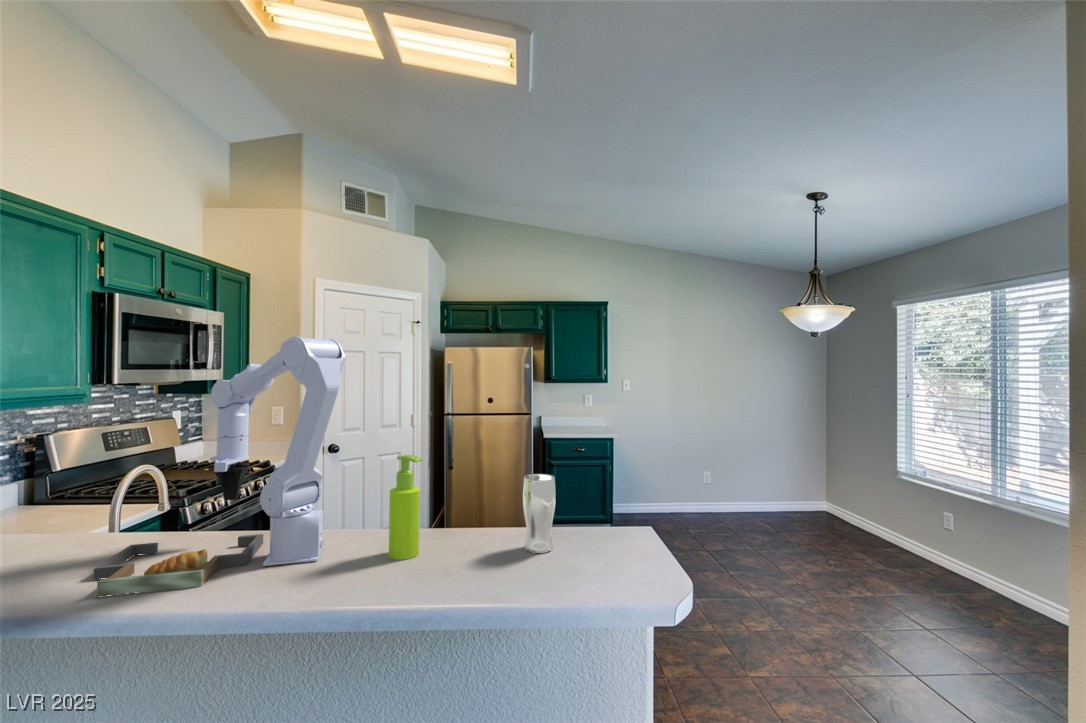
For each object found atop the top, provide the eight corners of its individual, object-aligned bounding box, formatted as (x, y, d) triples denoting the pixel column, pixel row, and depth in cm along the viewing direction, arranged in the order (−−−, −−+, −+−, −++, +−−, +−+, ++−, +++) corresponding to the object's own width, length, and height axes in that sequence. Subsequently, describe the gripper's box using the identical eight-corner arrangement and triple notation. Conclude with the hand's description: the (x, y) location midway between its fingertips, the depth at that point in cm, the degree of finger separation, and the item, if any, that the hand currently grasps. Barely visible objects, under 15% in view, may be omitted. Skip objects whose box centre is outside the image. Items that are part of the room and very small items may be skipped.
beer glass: (550, 556, 95) (550, 481, 95) (517, 552, 97) (518, 479, 97) (558, 544, 102) (559, 474, 102) (528, 541, 103) (528, 472, 104)
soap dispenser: (406, 563, 91) (407, 459, 91) (382, 556, 94) (384, 456, 95) (428, 553, 96) (430, 455, 96) (405, 547, 99) (406, 452, 100)
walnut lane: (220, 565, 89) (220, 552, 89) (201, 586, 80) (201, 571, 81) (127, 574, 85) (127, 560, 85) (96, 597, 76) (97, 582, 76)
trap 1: (157, 552, 95) (157, 542, 95) (124, 577, 84) (124, 565, 84) (130, 554, 94) (131, 544, 94) (93, 580, 83) (93, 568, 83)
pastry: (142, 588, 80) (143, 565, 80) (145, 575, 85) (146, 554, 86) (209, 574, 86) (210, 553, 86) (208, 563, 91) (209, 543, 91)
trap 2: (263, 543, 101) (263, 533, 101) (245, 565, 89) (245, 554, 89) (239, 545, 100) (239, 535, 100) (218, 567, 88) (218, 557, 88)
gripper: (223, 432, 107) (222, 492, 107) (197, 441, 93) (195, 509, 93) (258, 431, 109) (257, 490, 109) (238, 439, 95) (236, 507, 95)
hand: (231, 499), depth 101 cm, fingers closed
